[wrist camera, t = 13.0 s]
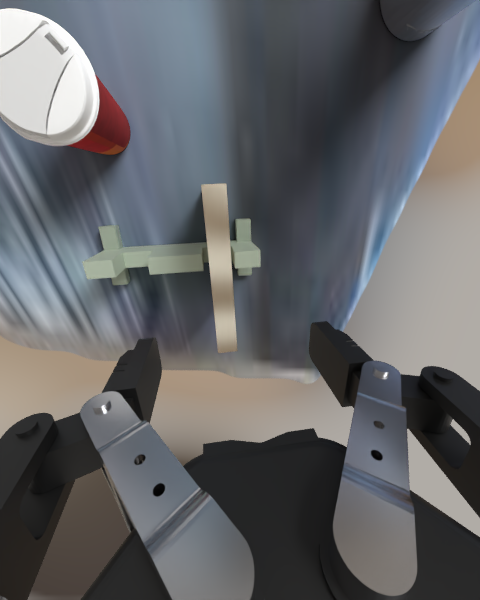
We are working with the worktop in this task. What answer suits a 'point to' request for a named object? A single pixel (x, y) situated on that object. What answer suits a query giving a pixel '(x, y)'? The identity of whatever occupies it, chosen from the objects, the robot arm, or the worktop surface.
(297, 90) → the worktop surface
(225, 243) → the beige flat panel
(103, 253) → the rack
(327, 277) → the worktop surface
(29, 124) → the paper cup
